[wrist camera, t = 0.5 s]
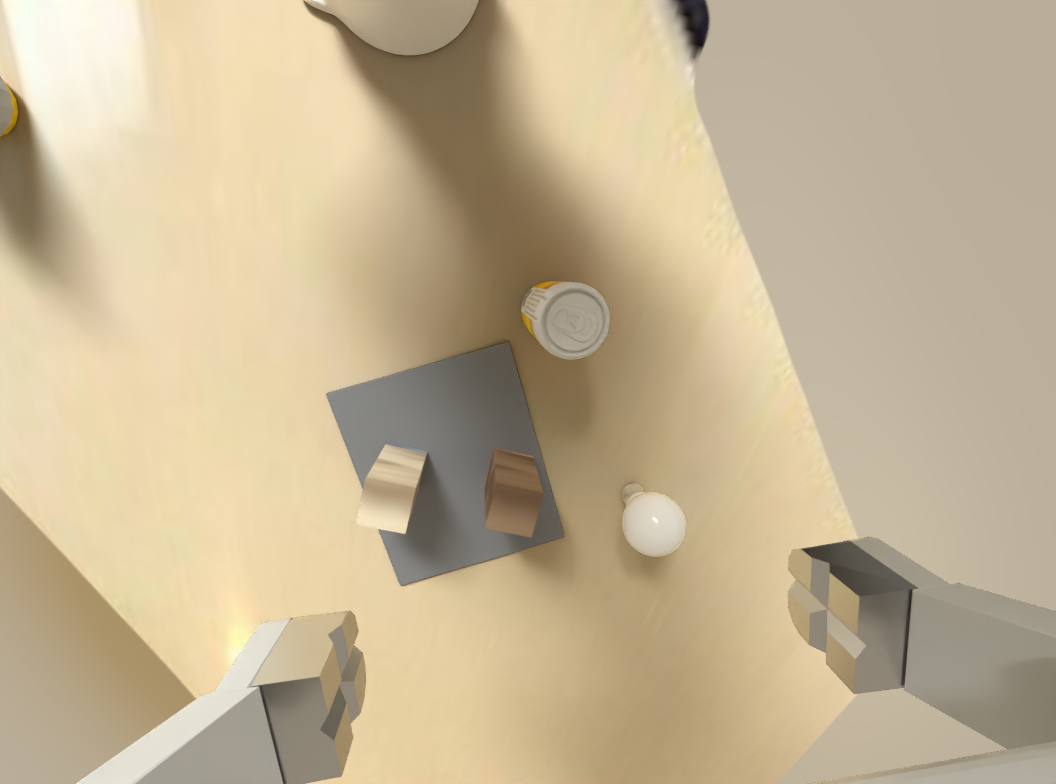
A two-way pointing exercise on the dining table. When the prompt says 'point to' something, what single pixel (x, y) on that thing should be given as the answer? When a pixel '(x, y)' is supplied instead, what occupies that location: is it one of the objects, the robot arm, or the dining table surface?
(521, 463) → the walnut block
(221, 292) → the dining table surface
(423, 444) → the rubber mat
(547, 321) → the beer can
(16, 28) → the dining table surface
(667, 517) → the lightbulb
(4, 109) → the soap bottle
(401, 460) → the maple block
